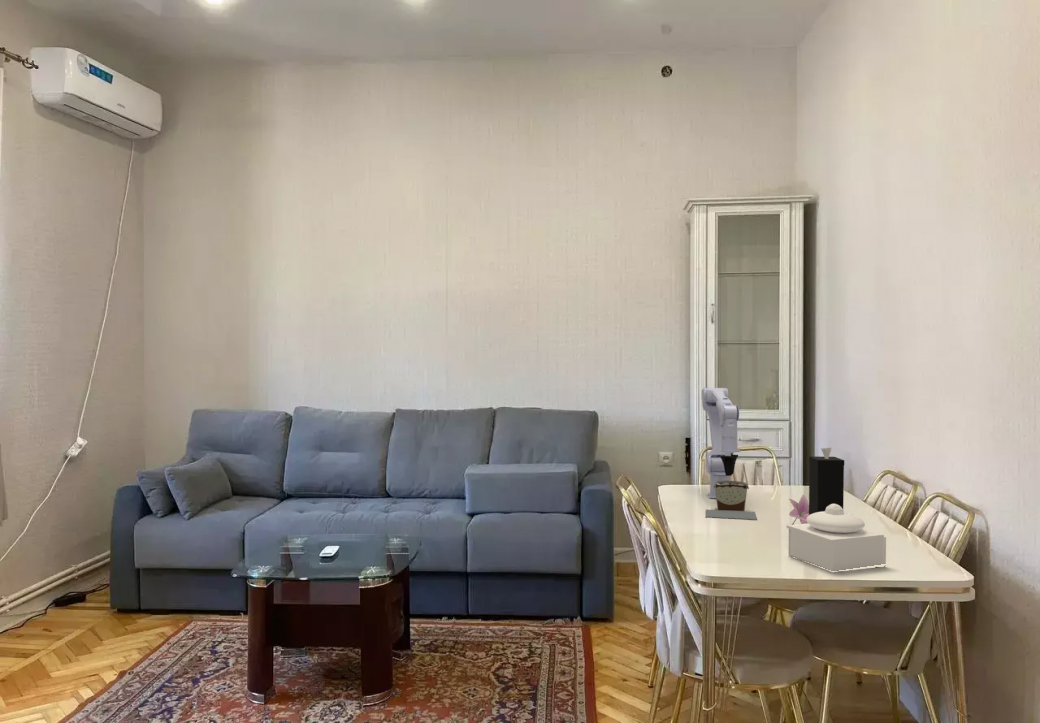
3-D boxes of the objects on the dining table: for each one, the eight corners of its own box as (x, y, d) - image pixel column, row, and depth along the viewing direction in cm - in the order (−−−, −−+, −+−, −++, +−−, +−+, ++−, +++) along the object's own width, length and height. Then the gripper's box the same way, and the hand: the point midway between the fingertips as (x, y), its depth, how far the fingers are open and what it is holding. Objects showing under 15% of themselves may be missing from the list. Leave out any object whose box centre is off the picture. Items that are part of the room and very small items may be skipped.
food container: (745, 508, 282) (745, 480, 282) (748, 511, 276) (749, 483, 275) (710, 507, 283) (711, 479, 283) (713, 510, 277) (713, 482, 277)
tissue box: (808, 535, 241) (809, 445, 240) (833, 535, 240) (834, 446, 240) (817, 541, 233) (818, 449, 232) (843, 542, 233) (844, 449, 232)
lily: (782, 532, 249) (795, 509, 245) (773, 511, 260) (786, 488, 256) (816, 543, 250) (830, 520, 246) (806, 521, 261) (820, 499, 257)
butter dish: (885, 567, 206) (886, 508, 206) (831, 574, 200) (832, 512, 200) (838, 551, 223) (838, 496, 223) (786, 556, 217) (787, 500, 217)
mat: (705, 510, 277) (705, 509, 277) (754, 512, 273) (754, 511, 273) (705, 517, 266) (705, 516, 266) (757, 520, 262) (757, 519, 262)
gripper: (739, 438, 278) (739, 476, 277) (741, 437, 292) (742, 473, 291) (719, 438, 280) (719, 476, 280) (722, 436, 294) (722, 472, 293)
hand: (729, 474), depth 285 cm, fingers open, 7 cm apart
